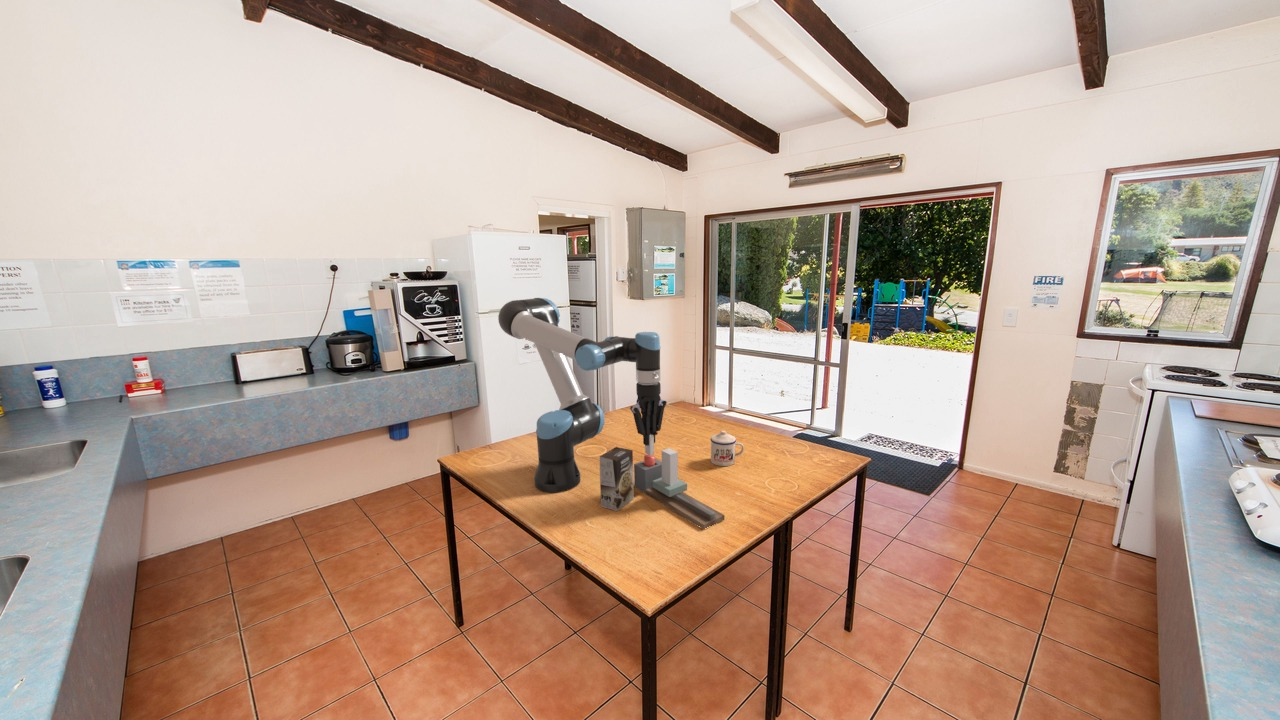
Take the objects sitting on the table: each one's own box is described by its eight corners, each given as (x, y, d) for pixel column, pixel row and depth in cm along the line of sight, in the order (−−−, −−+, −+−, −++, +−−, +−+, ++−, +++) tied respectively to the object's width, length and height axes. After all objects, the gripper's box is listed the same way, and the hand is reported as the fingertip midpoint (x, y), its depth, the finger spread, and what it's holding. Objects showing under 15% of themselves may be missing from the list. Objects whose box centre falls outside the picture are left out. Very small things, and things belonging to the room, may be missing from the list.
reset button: (648, 474, 148) (648, 459, 147) (642, 470, 151) (642, 456, 150) (657, 471, 150) (656, 456, 149) (650, 467, 153) (650, 453, 152)
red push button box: (645, 493, 147) (645, 470, 145) (634, 487, 152) (634, 464, 150) (665, 486, 152) (665, 463, 150) (653, 480, 156) (653, 457, 155)
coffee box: (617, 512, 137) (616, 460, 133) (600, 506, 140) (598, 456, 137) (634, 498, 144) (633, 449, 141) (617, 493, 148) (616, 445, 144)
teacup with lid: (711, 466, 166) (711, 435, 164) (709, 456, 175) (709, 426, 173) (745, 467, 165) (746, 436, 163) (741, 456, 174) (742, 427, 172)
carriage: (669, 497, 138) (669, 458, 136) (652, 487, 144) (652, 450, 142) (687, 490, 142) (687, 452, 140) (670, 480, 148) (669, 444, 146)
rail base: (703, 529, 127) (704, 519, 126) (645, 493, 147) (645, 485, 146) (724, 520, 131) (724, 510, 131) (665, 486, 152) (665, 477, 151)
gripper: (638, 388, 138) (640, 462, 143) (672, 381, 146) (672, 452, 150) (624, 383, 144) (626, 455, 149) (657, 376, 152) (658, 445, 156)
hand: (649, 453), depth 149 cm, fingers closed
